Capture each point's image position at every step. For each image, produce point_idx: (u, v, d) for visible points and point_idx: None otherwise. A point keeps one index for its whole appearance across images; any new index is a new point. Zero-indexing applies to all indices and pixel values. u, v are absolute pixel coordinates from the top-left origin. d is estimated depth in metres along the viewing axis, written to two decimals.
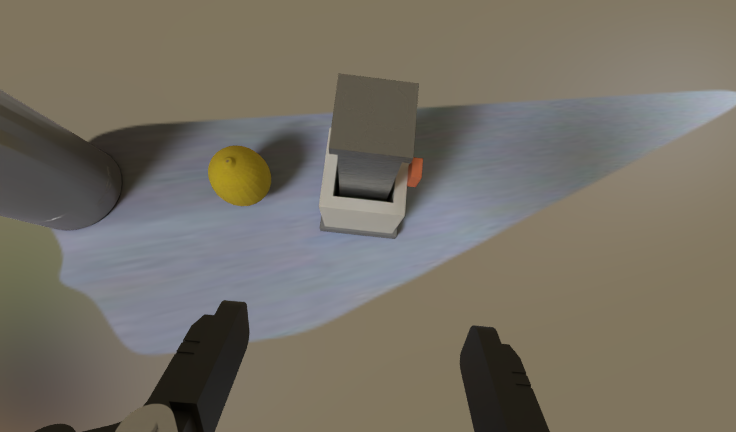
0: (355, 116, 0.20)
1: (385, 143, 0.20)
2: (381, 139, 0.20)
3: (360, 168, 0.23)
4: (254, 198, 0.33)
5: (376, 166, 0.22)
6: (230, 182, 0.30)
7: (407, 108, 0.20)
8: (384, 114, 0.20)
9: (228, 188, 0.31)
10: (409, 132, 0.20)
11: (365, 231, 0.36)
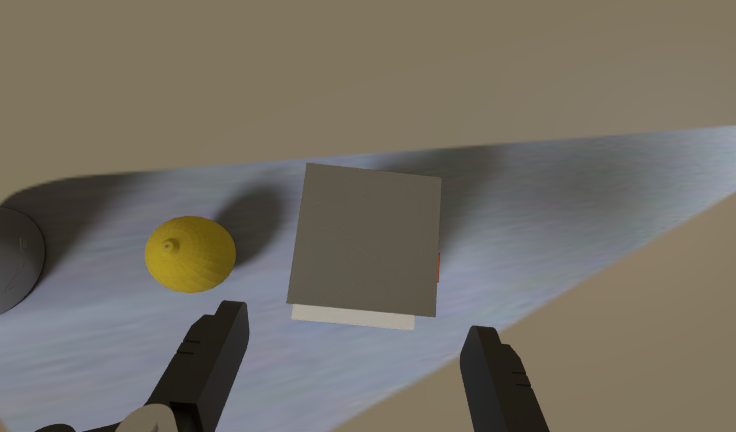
0: (334, 241, 0.12)
1: (386, 290, 0.11)
2: (379, 283, 0.11)
3: None
4: (211, 285, 0.25)
5: None
6: (172, 273, 0.22)
7: (423, 223, 0.12)
8: (385, 235, 0.12)
9: (170, 280, 0.22)
10: (427, 268, 0.11)
11: None
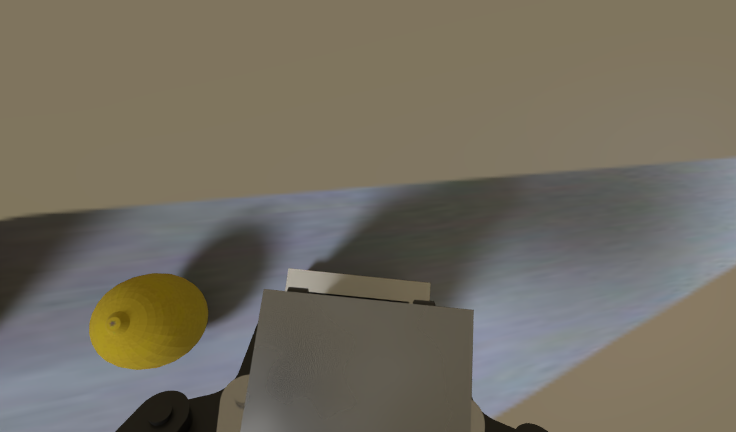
0: (304, 425, 0.07)
1: None
2: None
3: None
4: (174, 359, 0.20)
5: None
6: (121, 355, 0.18)
7: (446, 390, 0.07)
8: (385, 413, 0.07)
9: (119, 362, 0.18)
10: None
11: None
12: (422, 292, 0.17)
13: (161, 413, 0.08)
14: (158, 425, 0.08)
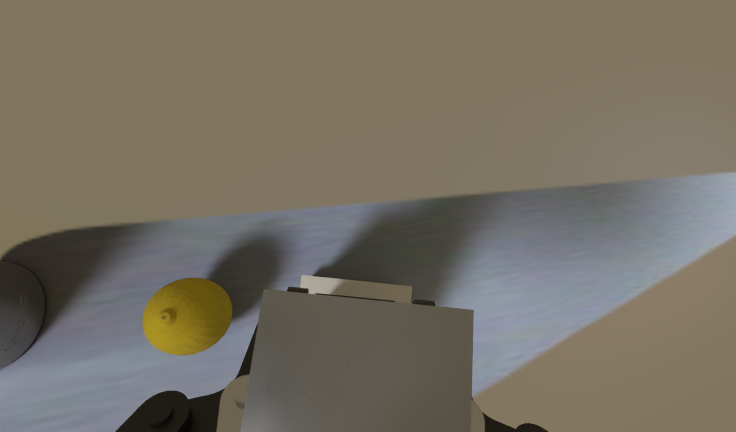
0: (304, 425, 0.07)
1: None
2: None
3: None
4: (207, 347, 0.25)
5: None
6: (169, 342, 0.23)
7: (446, 390, 0.07)
8: (385, 413, 0.07)
9: (167, 348, 0.23)
10: None
11: None
12: (405, 293, 0.22)
13: (160, 413, 0.08)
14: (158, 425, 0.08)
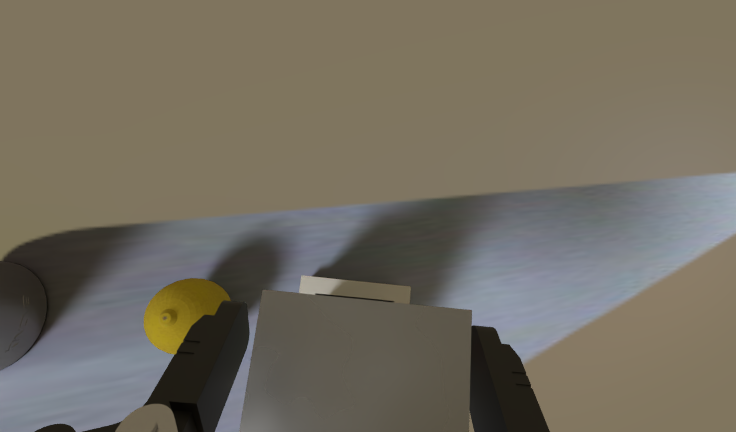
0: (303, 425, 0.07)
1: None
2: None
3: None
4: None
5: None
6: (170, 342, 0.23)
7: (444, 390, 0.08)
8: (384, 412, 0.07)
9: (168, 348, 0.23)
10: None
11: None
12: (404, 293, 0.22)
13: None
14: None
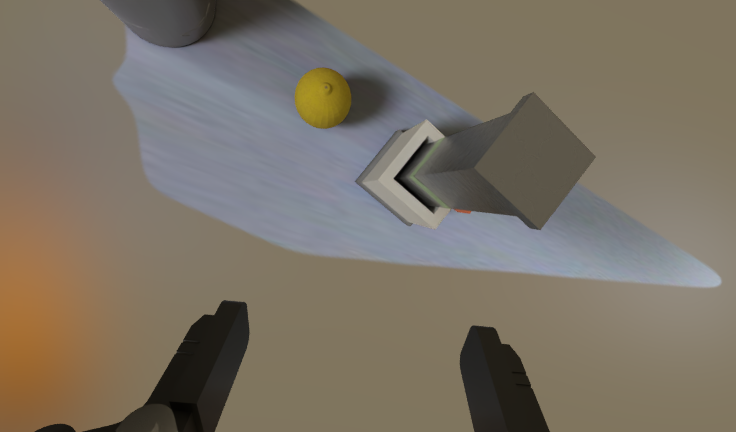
0: (518, 151, 0.17)
1: (526, 198, 0.17)
2: (525, 192, 0.17)
3: (470, 187, 0.20)
4: (323, 127, 0.34)
5: (488, 198, 0.20)
6: (316, 105, 0.31)
7: (568, 176, 0.17)
8: (545, 168, 0.17)
9: (310, 108, 0.31)
10: (553, 202, 0.17)
11: (390, 207, 0.39)
12: None
13: None
14: None
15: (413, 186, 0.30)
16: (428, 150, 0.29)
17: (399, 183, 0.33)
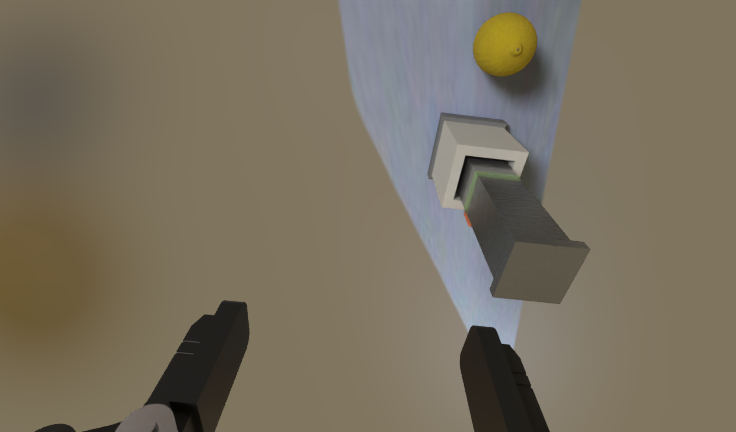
0: (541, 261, 0.22)
1: (510, 280, 0.23)
2: (514, 277, 0.23)
3: (496, 234, 0.26)
4: (478, 62, 0.34)
5: (494, 251, 0.26)
6: (495, 49, 0.31)
7: (538, 295, 0.24)
8: (537, 281, 0.23)
9: (490, 45, 0.31)
10: (515, 295, 0.24)
11: (435, 155, 0.42)
12: None
13: None
14: None
15: (467, 175, 0.34)
16: (503, 171, 0.32)
17: None
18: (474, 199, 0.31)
